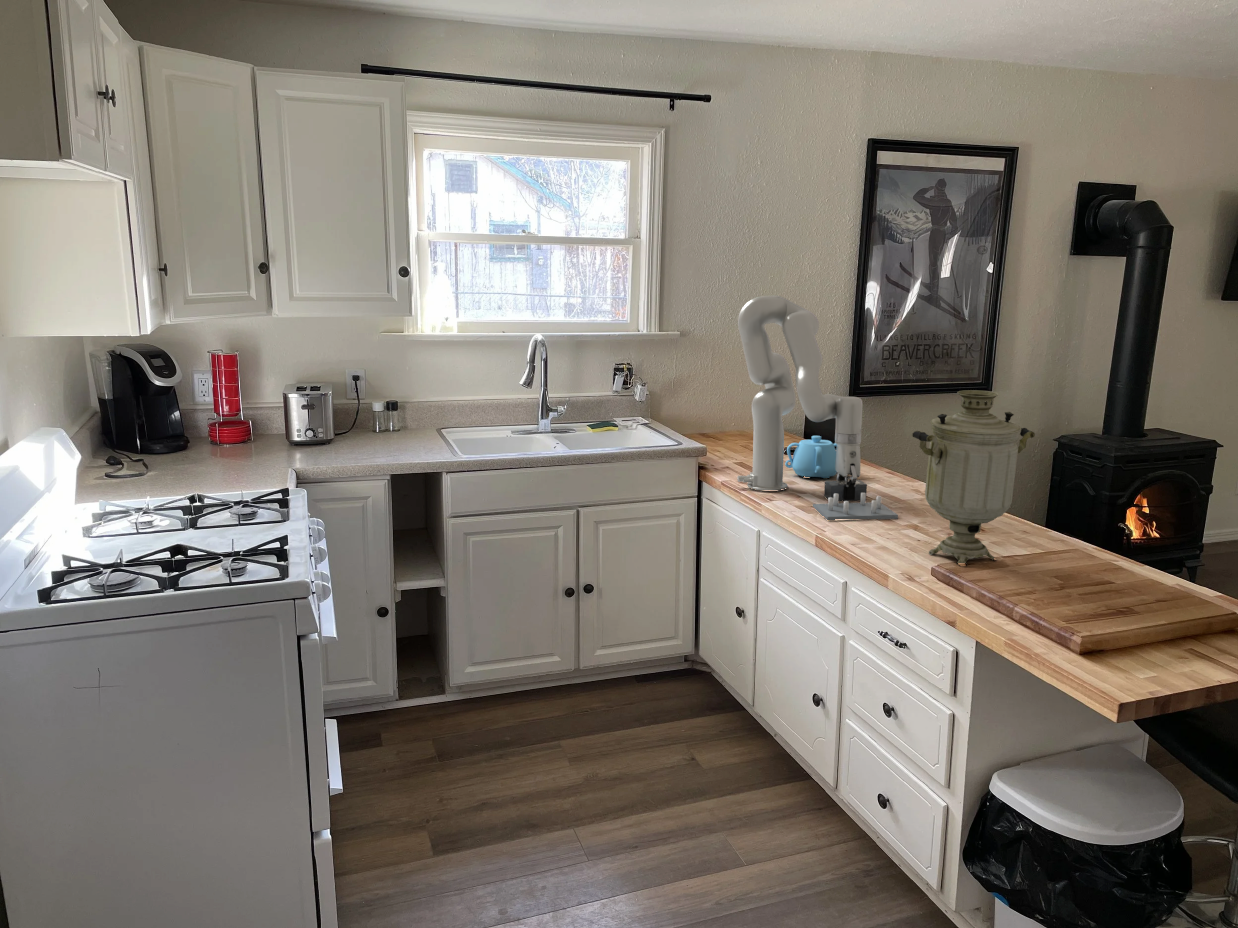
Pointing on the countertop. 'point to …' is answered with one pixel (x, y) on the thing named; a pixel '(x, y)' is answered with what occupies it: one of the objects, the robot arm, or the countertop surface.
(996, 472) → the samovar
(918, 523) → the countertop surface
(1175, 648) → the countertop surface
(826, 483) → the drive
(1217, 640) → the countertop surface
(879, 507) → the peg board
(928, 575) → the countertop surface
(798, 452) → the decorative pot
